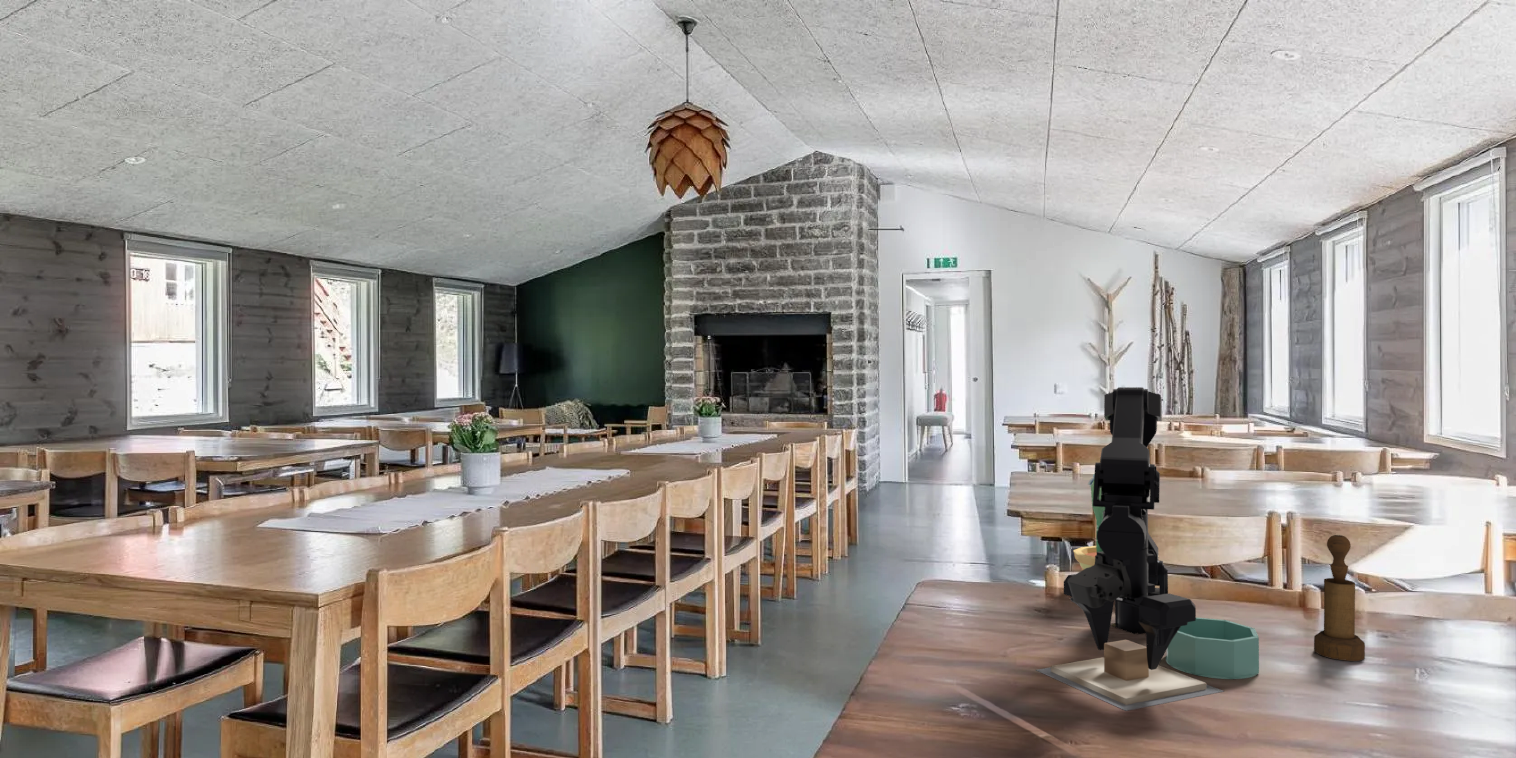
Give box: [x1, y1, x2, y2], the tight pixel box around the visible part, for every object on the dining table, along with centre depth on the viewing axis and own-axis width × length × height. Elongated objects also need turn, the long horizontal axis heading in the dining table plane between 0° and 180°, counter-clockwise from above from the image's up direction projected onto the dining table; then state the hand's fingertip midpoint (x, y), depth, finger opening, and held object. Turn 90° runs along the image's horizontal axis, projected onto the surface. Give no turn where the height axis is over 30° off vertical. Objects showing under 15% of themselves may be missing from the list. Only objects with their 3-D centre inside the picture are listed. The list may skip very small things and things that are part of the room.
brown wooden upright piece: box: [1313, 534, 1366, 662], centre depth 136 cm, size 7×6×18 cm
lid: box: [1050, 639, 1207, 705], centre depth 124 cm, size 14×14×5 cm
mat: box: [1035, 666, 1225, 712], centre depth 124 cm, size 17×17×1 cm
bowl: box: [1165, 616, 1260, 680], centre depth 130 cm, size 12×12×6 cm
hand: (1126, 659), depth 124 cm, fingers open, 9 cm apart
